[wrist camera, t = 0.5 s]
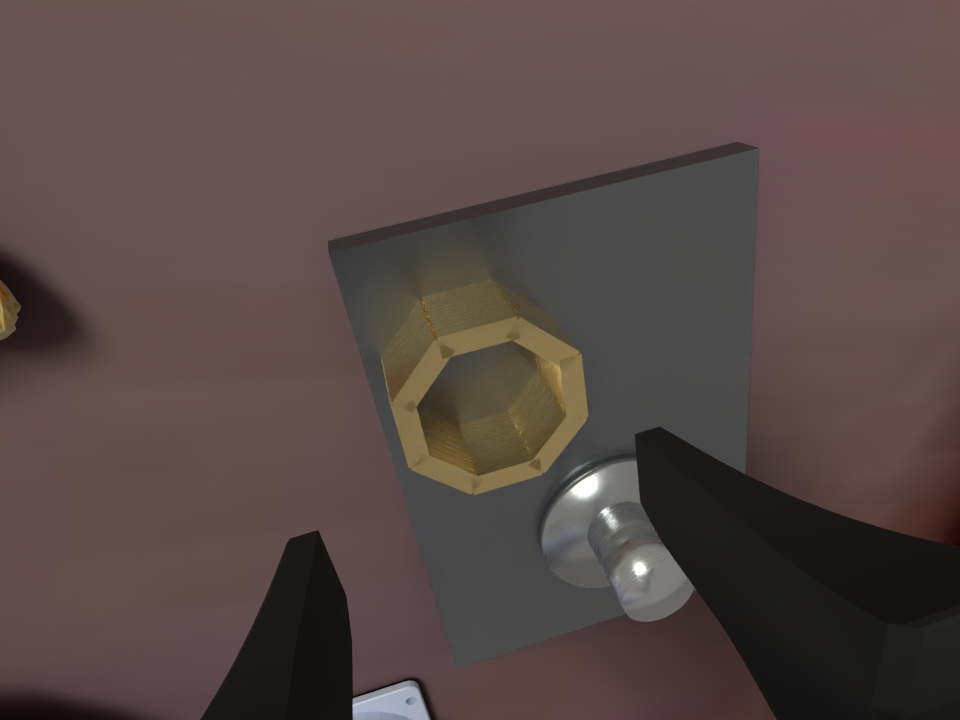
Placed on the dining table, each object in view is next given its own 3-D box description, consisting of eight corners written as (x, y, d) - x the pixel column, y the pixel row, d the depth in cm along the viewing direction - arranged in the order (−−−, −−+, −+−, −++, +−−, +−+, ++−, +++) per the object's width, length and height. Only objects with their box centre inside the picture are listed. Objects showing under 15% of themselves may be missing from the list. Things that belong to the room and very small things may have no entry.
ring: (562, 412, 24) (592, 459, 21) (409, 455, 23) (421, 510, 20) (542, 266, 21) (575, 300, 18) (367, 311, 20) (375, 353, 17)
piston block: (727, 558, 31) (796, 647, 27) (452, 646, 30) (476, 757, 25) (738, 142, 22) (849, 173, 17) (327, 241, 20) (332, 304, 16)
